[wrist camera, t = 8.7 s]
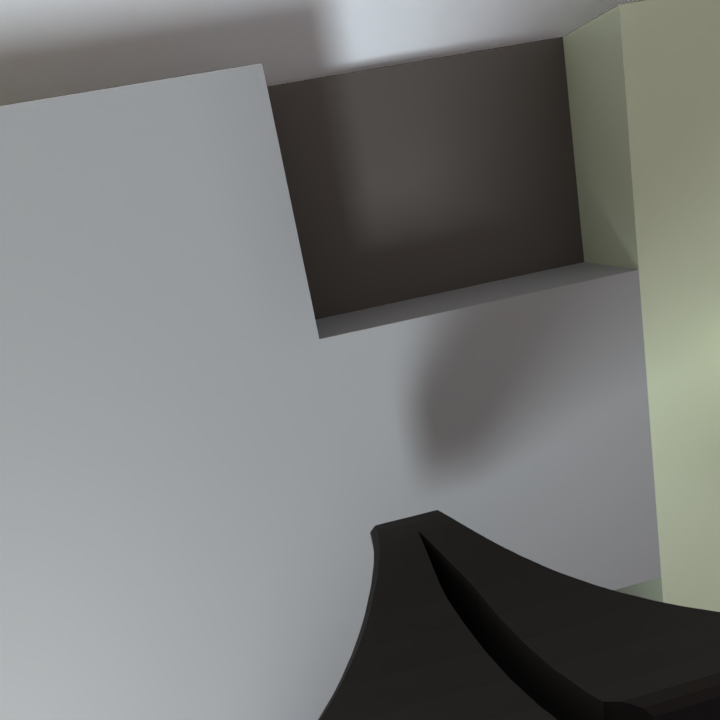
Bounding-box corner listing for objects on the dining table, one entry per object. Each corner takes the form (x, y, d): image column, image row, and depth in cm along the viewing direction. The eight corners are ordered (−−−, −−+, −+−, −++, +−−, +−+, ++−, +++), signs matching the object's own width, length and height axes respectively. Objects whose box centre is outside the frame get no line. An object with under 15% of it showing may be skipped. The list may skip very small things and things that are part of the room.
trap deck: (880, 602, 20) (1028, 693, 16) (43, 853, 17) (-18, 1037, 13) (896, -18, 16) (1106, -94, 12) (-234, 172, 13) (-446, 154, 9)
